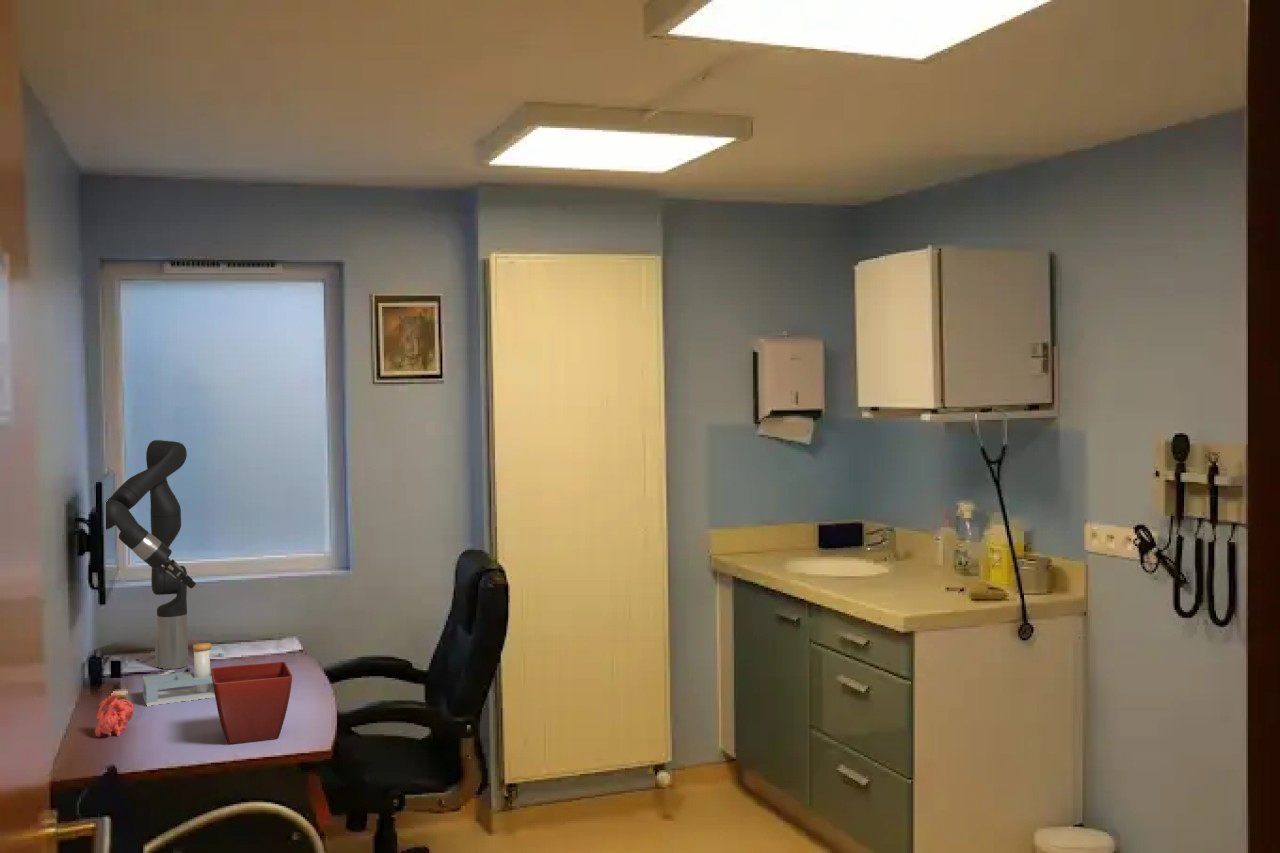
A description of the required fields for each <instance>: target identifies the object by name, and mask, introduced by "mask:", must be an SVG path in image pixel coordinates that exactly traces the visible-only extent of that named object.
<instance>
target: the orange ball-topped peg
mask: <svg viewBox="0 0 1280 853" xmlns="http://www.w3.org/2000/svg"><path fill="white" fill-rule="evenodd" d="M211 648H212V644H211V642H197V643H194V644H192V651H193V671H194V678H197V677H205V676H210V669H211ZM210 686H211V683H208V684H200V685H193V688H194V692H195V693H204V692H209V691H210Z"/></svg>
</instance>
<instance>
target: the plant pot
mask: <svg viewBox="0 0 1280 853" xmlns="http://www.w3.org/2000/svg"><path fill="white" fill-rule="evenodd" d="M210 669H211V675H212V682H213V688H214V694H215V698H214V699H215V702H216V703H215V704H216V708H217V713H218V718H219V722H220V727H221V729H222V732H223V736H224V738H225V742H226V743H227V744H237V743H246V742H247V743H249V742H256V741H257V742H258V741H259V742H260V741H266V740H267V741H268V740H276V739H278V738H279V737H280V735H281V732H282V728H283V726H284V722H285V719H286V714H287V710H288V706H289V702H290V696H291V691H292V682H293V675H292V673H291V672H292V671H291V670H290V668H289V666H288V665H287V662H285V661H277V662H265V663H264V662H263V663H254V664H243V665H242V664H240V665H229V666H220V667H211V668H210Z"/></svg>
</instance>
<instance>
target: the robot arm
mask: <svg viewBox="0 0 1280 853" xmlns="http://www.w3.org/2000/svg"><path fill="white" fill-rule="evenodd" d="M187 452H188V451H187V448H186V446H185V445H184V444H183V443H181V442H179V441H173V440H172V441H171V440H162V439H155V440H152V441H151V442H149V444H148V445H147V448H146V456H145V460H146V469H145V470H142V471H141V472H138V473H137V474H134V475H133V476H131V477H128V479H126V480H125V481H124V482H123V483H122V484H121V485H120V486H119V487H118V488H117V489H116V491H115V492H113V494H112V495H111V496H110V497H109V498H108V499H107V500H108V501H107V500H106V501H107V502H106V501H105V502H106V530H109V529H112V528H113V527H116V528H118V530H119V534H118V539H119V540H120V541H121V542H122V543H123V544H124V545H125V546H127V547H128V548H129V549H130V550H131V551H132V552H133V553H134V555H136V556H137V557H139V558H140V560H142V561H143V562H144V563H145V564H147V565H148V566H149V567H150V568H151V573H150V574H151V579H150V581H151V583H150V584H151V590H152V592H153V595H157V596H160V595H161V596H162V595H163V596H165V595H175V596H176V597H174V598H173V599H171V600H170V601H168V602H166V603H163V604H161V605H159V606H158V607H157V609H156V619H157V622H156V625H157V626H156V628H157V637H156V638H154V656H155V657H154V658H155V659H154V662H155V663H154V664H155V666H156V667H160V668H163V669H162V670H175V669H176V670H177V669H180V668H186V667H188V666H189V640H188V639H189V638H188V634H189V633H188V609H187V608H188V607H187V606H188V603H187V593H188V588H189V589H193V588H194V587H195V586H196V585H197V584H196V581H194V580H193V578H192V577H191V576H189V575H188V571H187V568H186V566H184V565H179V564H178V562H177V561H176V560H174V559H171V558H170V556H171V554H172V552H173V551H172V549H171V548H170V546H172V543H173V542H174V541H175V539H176V538H177V537H178V534H179V532H180V531H181V528H182V510H181V505H180V503H179V501H178V498H177V497H176V495H175V494H174V492H173V491H172V489H171V487H170V485H169V482H168V480H167V478H168V477H169V476H171V475H173V473H175V472H177V471H178V470H179V469H180V468H181V467H182V466H183V465H184V464H185V462H186V460H187V456H188V453H187ZM148 493H149V495H150V497H149V498H150V500H149V501H150V513H149V514H150V530H151V532H149V531H148V530H146V529H145V527H143V526H142V525H141V524H139V523H138V521H137V519H136V518H135V517H134V515H133V514H132V512H131V511H130V510H131V509H132V508H134V507H135V506H136V505H137V504H138V503H139V502H140V501H141V499H143V497H145V495H146V494H148ZM187 587H188V588H187ZM156 667H155V668H156ZM160 668H159V669H160Z"/></svg>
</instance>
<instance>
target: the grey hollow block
mask: <svg viewBox="0 0 1280 853" xmlns="http://www.w3.org/2000/svg"><path fill="white" fill-rule="evenodd" d="M211 669H212V668H210V676H205V677H197V678H194V670H192V671H183V672H173V673H164V674H158V675H157V674H156V675H148V676H147V675H146V676H142V698H143V700H144V703H145V705H147V706H146V707H152V706H151V705H154V706H159V705H158V704H162V705H167V704H166V703H170V704H175V703H174V702H178V703H182V702H181V701H186V702H192V701H191V700H194V701H199V700H198V699H202V700H206V699H205V698H210V699H213V698H212V697H215V694H214V688H213V682H212V675H211ZM208 683H210V691H209V692H204V693H195V692H194V687H190V686H194V685H200V684H208ZM182 687H183V688H182ZM184 687H186V688H184ZM174 688H179V689H174ZM164 689H166V690H164ZM167 689H171V690H167ZM159 690H161V691H159Z"/></svg>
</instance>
